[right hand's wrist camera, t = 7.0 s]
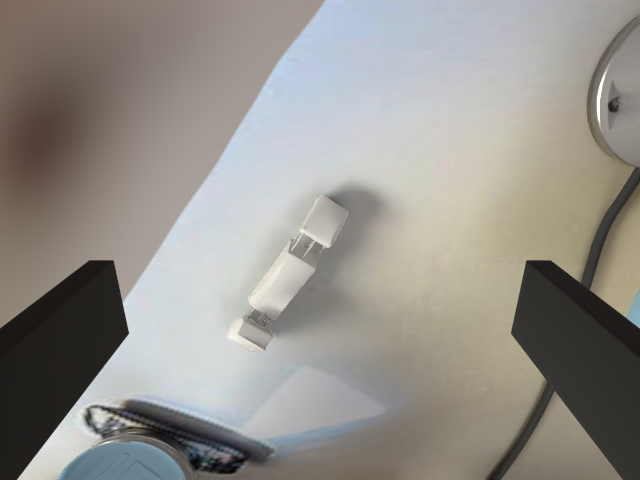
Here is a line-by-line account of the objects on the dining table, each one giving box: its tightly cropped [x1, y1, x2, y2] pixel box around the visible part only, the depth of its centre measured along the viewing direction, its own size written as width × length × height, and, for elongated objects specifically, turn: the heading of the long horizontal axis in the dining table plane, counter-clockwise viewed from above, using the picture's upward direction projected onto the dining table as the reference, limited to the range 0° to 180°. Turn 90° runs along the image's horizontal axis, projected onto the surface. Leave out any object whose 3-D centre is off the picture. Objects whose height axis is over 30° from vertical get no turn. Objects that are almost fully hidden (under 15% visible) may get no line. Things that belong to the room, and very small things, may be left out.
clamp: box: [227, 195, 349, 352], centre depth 42 cm, size 20×4×7 cm, turn 147°
